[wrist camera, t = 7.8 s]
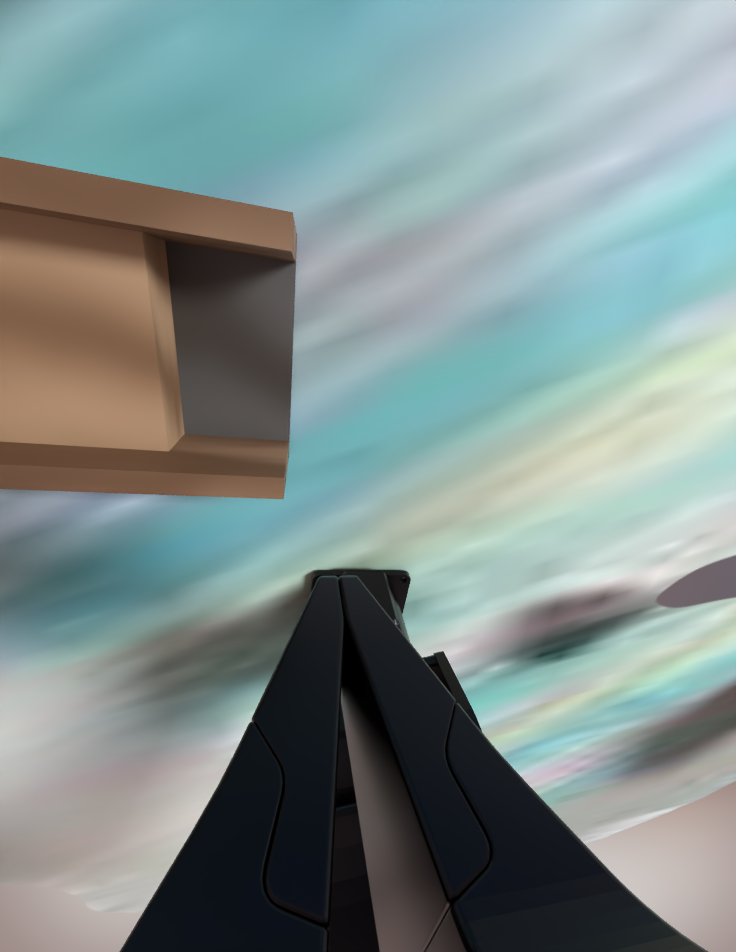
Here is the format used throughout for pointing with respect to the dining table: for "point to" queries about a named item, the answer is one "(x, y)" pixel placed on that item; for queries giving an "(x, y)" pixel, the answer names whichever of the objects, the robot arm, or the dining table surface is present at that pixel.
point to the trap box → (142, 338)
